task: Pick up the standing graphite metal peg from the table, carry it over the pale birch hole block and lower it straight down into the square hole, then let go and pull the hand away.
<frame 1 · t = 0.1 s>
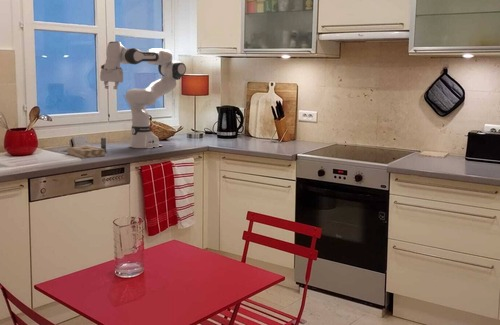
hand: (110, 89, 352), 39 cm above the table, tool pointing down, fingers open, 8 cm apart
hole block: (86, 154, 332), on the table
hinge: (80, 149, 355), on the table
peg: (103, 152, 345), on the table
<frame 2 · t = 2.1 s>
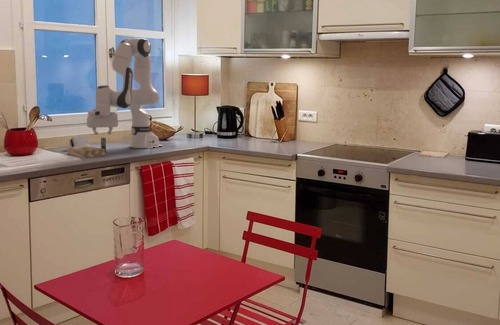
hand: (102, 134, 342), 11 cm above the table, tool pointing down, fingers open, 8 cm apart
nothing on the table moved.
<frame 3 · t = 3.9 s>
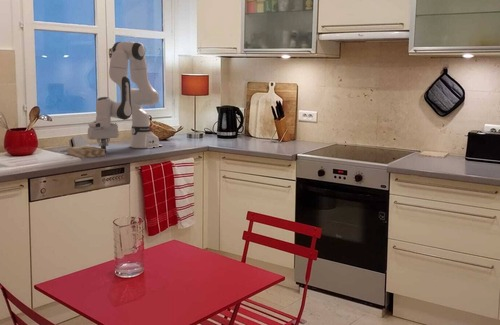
hand: (103, 145, 344), 4 cm above the table, tool pointing down, fingers closed on peg, 3 cm apart
peg: (103, 152, 345), on the table, touching gripper
everything else where it was.
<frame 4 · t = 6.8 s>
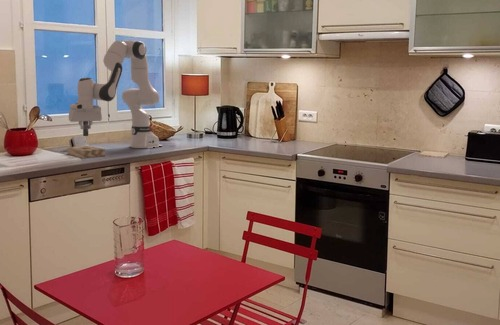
hand: (85, 128, 330), 16 cm above the table, tool pointing down, fingers closed on peg, 3 cm apart
peg: (85, 135, 330), point 12 cm above the table, touching gripper
everything else where it was.
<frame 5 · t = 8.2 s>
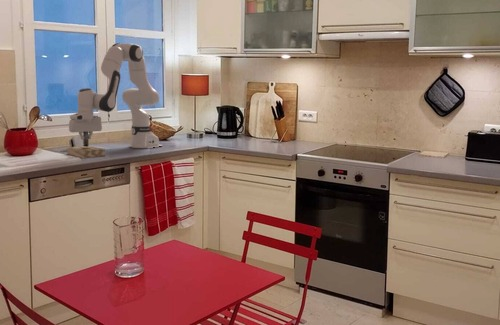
hand: (85, 139, 331), 9 cm above the table, tool pointing down, fingers closed on peg, 3 cm apart
peg: (85, 146, 331), point 5 cm above the table, touching gripper
everything else where it was.
when the fingers open (5 cm above the table, at t = 9.7 s): peg stays where it is, resting in hole block.
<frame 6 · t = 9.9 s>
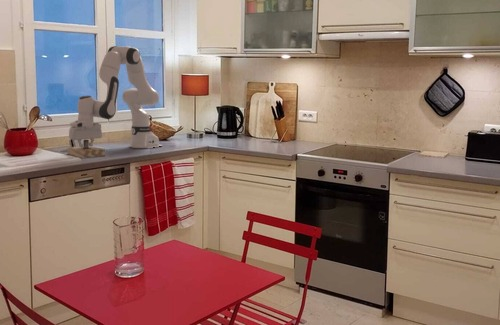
hand: (86, 146, 332), 5 cm above the table, tool pointing down, fingers open, 5 cm apart
peg: (86, 154, 332), resting in hole block
everything else where it was.
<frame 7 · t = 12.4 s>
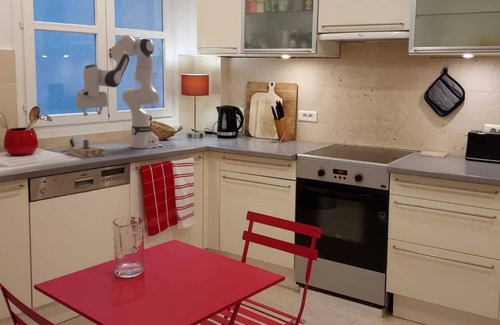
hand: (92, 115, 336), 23 cm above the table, tool pointing down, fingers open, 8 cm apart
nothing on the table moved.
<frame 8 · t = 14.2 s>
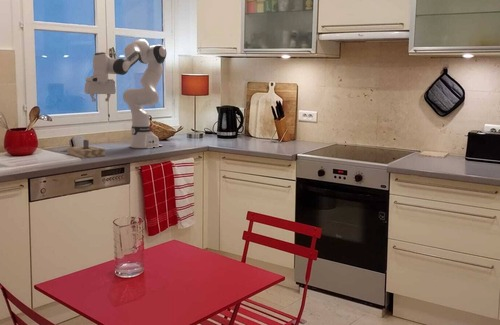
hand: (100, 101, 345), 31 cm above the table, tool pointing down, fingers open, 8 cm apart
at the end: peg 0.1 cm off-centre on the hole block, point 0.0 cm above the hole block's base; peg tilted 0°; the gripper is holding nothing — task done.
